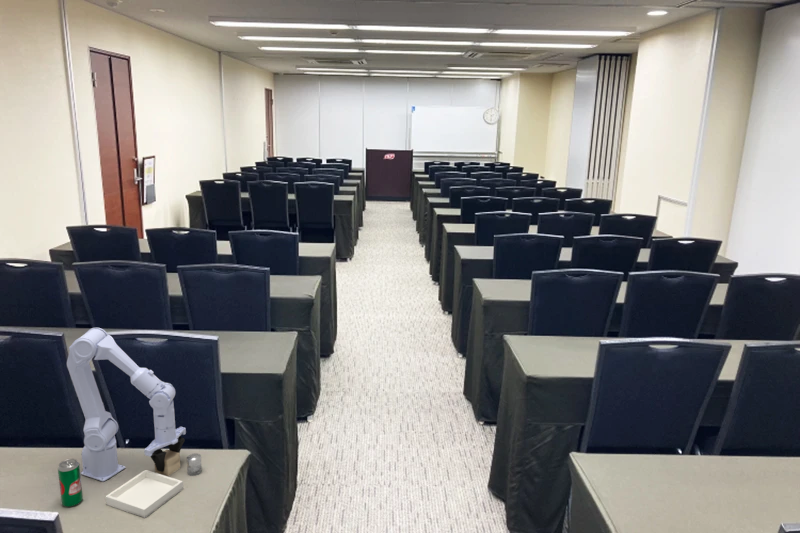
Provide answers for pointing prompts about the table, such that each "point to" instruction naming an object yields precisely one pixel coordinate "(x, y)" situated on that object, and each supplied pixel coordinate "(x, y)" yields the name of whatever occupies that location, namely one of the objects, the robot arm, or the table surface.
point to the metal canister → (194, 464)
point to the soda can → (70, 483)
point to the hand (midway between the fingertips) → (167, 465)
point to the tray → (144, 493)
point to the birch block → (170, 463)
